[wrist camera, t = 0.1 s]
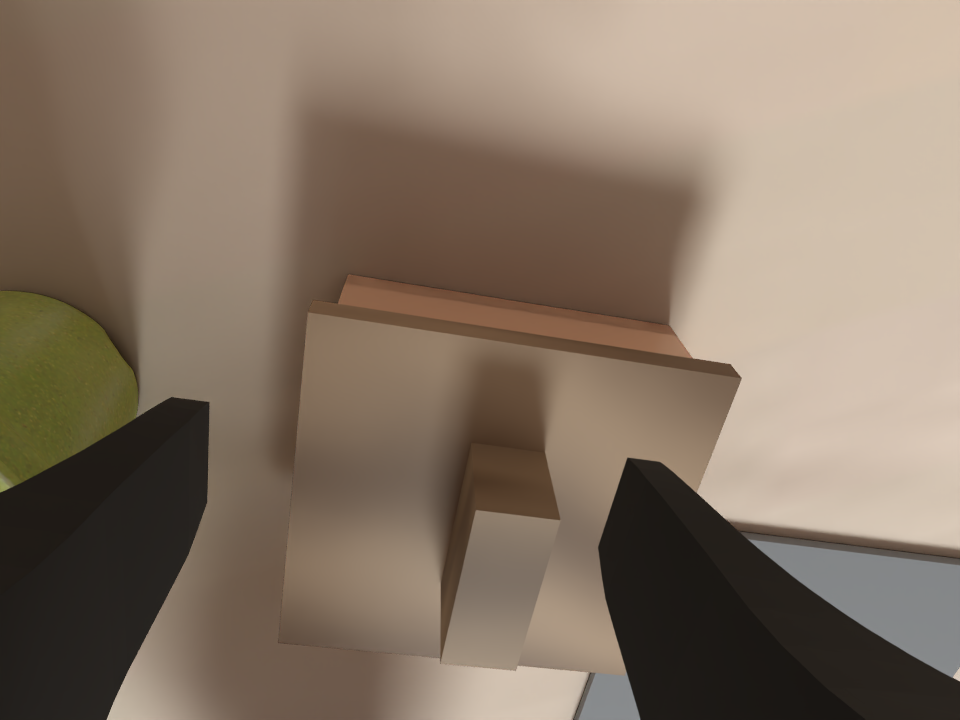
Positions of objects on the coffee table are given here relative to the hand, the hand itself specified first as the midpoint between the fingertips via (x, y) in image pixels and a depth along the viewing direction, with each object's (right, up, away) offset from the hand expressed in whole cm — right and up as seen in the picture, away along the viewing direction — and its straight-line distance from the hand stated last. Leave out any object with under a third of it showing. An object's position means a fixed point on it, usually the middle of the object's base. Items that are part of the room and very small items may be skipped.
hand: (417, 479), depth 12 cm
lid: (+1, -2, +8) cm, 9 cm away
